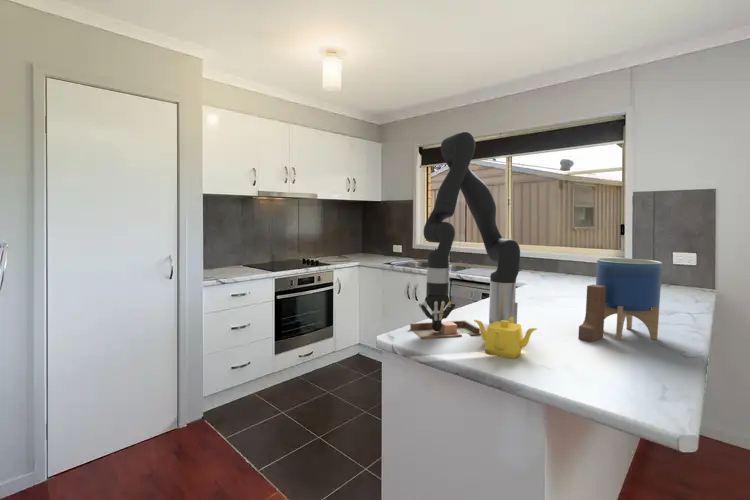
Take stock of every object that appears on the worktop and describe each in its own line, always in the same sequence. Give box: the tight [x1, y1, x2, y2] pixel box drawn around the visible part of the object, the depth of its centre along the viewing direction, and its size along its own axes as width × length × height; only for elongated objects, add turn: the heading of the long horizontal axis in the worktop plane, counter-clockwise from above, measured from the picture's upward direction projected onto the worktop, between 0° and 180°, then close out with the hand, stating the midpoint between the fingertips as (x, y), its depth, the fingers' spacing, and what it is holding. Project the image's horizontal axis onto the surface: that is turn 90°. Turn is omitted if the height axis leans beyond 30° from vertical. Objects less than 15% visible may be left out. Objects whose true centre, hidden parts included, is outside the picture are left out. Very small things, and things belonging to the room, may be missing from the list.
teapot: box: [473, 317, 538, 360], centre depth 119 cm, size 15×14×10 cm
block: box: [440, 321, 457, 334], centre depth 134 cm, size 4×4×3 cm
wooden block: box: [578, 284, 606, 343], centre depth 133 cm, size 9×4×18 cm, turn 127°
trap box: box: [409, 319, 481, 340], centre depth 134 cm, size 21×12×4 cm, turn 103°
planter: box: [595, 257, 663, 341], centre depth 138 cm, size 19×19×26 cm
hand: (436, 330), depth 134 cm, fingers closed
